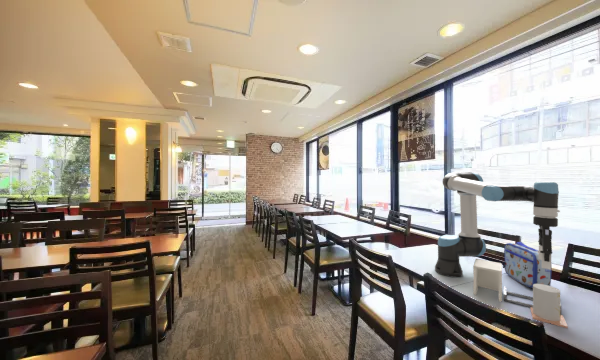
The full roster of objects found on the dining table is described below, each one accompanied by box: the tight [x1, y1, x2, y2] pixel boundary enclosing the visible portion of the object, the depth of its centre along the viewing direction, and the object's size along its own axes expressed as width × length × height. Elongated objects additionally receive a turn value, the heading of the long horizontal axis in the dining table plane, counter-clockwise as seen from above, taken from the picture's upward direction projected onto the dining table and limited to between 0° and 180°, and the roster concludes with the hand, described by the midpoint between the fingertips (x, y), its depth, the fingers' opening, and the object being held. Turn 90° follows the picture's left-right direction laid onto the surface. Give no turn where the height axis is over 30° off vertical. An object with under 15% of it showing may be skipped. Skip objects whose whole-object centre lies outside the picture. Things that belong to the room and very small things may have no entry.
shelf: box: [472, 258, 503, 302], centre depth 123 cm, size 11×14×15 cm
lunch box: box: [502, 241, 552, 289], centre depth 137 cm, size 28×10×22 cm, turn 168°
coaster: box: [529, 307, 569, 329], centre depth 101 cm, size 10×10×1 cm
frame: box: [503, 286, 562, 315], centre depth 113 cm, size 19×11×4 cm, turn 49°
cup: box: [532, 284, 561, 321], centre depth 101 cm, size 8×8×12 cm
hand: (544, 264), depth 104 cm, fingers open, 13 cm apart
